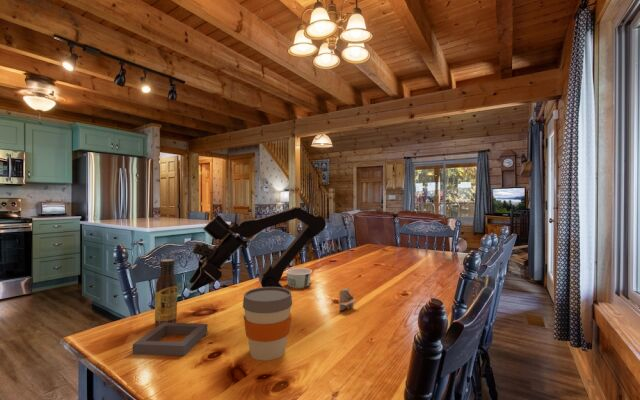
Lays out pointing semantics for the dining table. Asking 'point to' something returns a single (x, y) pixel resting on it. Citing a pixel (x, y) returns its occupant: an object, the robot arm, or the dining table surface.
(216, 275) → the robot arm
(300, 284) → the food container
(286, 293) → the reusable coffee cup
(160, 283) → the sauce bottle
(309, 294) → the dining table surface
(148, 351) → the grey square frame
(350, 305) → the architectural model
